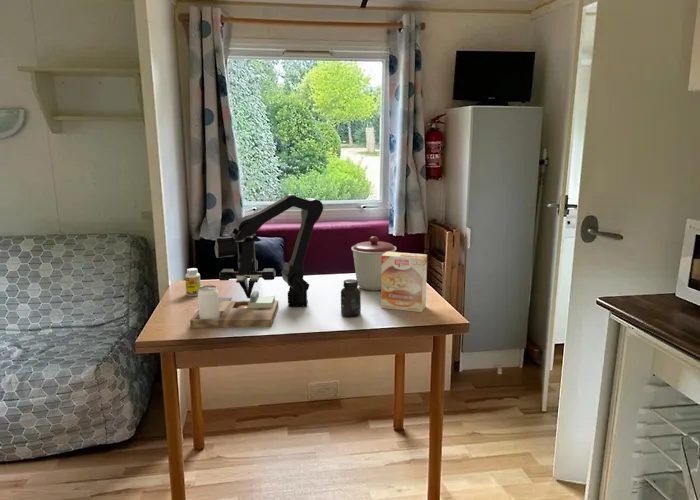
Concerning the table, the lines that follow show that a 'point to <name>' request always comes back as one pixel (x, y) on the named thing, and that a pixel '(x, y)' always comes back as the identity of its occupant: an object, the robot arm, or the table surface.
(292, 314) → the table surface
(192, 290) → the supplement bottle
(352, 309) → the supplement bottle
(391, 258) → the coffeecake box
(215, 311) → the can
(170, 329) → the table surface
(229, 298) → the mat
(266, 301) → the cover
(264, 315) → the puzzle board
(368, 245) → the canister
